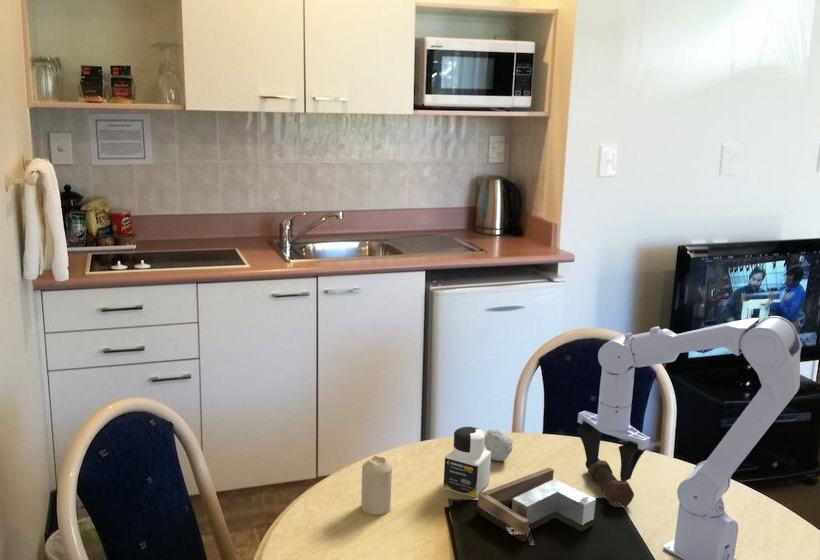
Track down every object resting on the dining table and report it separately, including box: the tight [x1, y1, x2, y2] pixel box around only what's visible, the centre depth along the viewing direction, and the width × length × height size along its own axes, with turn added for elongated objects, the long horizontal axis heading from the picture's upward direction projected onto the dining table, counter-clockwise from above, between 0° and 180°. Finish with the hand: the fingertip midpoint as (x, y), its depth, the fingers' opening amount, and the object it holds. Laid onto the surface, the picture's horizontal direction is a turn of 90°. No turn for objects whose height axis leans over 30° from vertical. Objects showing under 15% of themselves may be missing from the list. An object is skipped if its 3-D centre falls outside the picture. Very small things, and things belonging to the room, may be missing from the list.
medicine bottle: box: [442, 426, 492, 498], centre depth 153 cm, size 7×7×12 cm
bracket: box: [511, 478, 596, 525], centre depth 141 cm, size 12×10×6 cm
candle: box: [361, 455, 393, 516], centre depth 144 cm, size 6×6×10 cm
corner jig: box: [477, 467, 555, 535], centre depth 145 cm, size 12×19×4 cm, turn 127°
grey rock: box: [484, 428, 514, 462], centre depth 165 cm, size 6×7×7 cm
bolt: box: [585, 458, 635, 508], centre depth 155 cm, size 6×5×15 cm
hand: (608, 471), depth 142 cm, fingers open, 7 cm apart
